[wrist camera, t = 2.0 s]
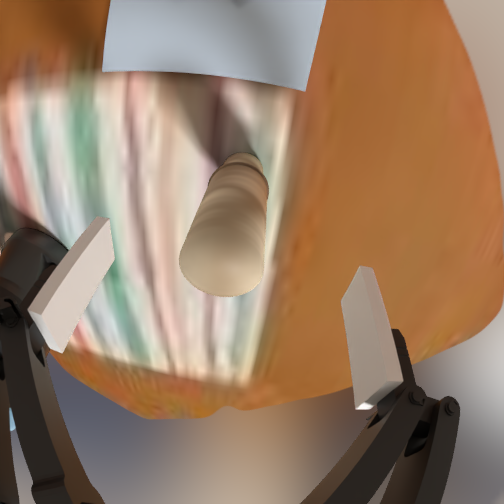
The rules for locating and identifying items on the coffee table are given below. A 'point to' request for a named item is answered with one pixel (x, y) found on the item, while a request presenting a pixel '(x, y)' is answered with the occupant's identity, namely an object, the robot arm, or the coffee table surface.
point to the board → (215, 38)
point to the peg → (229, 230)
